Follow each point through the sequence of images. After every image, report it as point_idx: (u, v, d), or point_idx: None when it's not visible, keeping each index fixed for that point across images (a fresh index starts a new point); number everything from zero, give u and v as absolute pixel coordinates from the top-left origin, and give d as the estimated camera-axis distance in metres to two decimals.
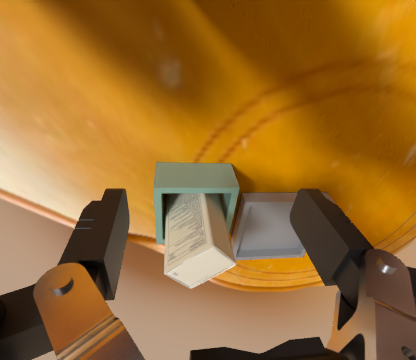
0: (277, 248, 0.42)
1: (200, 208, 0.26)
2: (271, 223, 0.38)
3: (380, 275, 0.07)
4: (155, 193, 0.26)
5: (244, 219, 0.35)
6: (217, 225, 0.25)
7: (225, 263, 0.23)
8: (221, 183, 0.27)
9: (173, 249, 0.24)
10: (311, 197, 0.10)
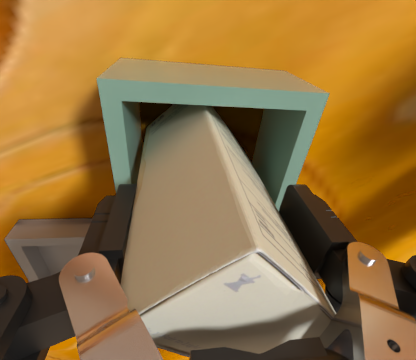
0: None
1: (274, 205, 0.12)
2: None
3: (359, 267, 0.07)
4: (310, 96, 0.10)
5: None
6: None
7: None
8: None
9: (257, 206, 0.07)
10: (298, 193, 0.10)
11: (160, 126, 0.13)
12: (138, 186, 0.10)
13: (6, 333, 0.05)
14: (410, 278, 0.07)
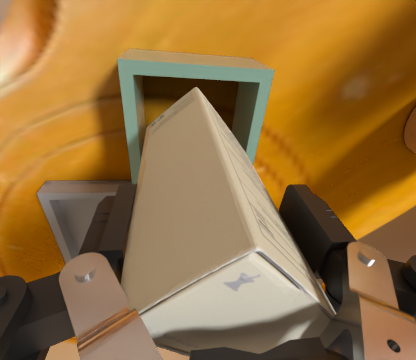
0: (75, 245, 0.28)
1: (274, 205, 0.12)
2: None
3: (359, 267, 0.07)
4: (261, 72, 0.15)
5: None
6: None
7: None
8: None
9: (257, 206, 0.07)
10: (298, 193, 0.10)
11: (160, 126, 0.13)
12: (138, 186, 0.10)
13: (5, 332, 0.05)
14: (410, 278, 0.07)
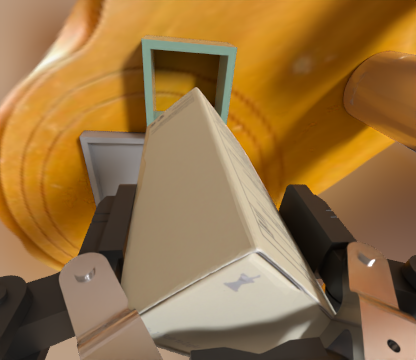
0: (101, 185, 0.37)
1: (274, 205, 0.12)
2: None
3: (359, 267, 0.07)
4: (229, 48, 0.24)
5: None
6: None
7: None
8: None
9: (257, 206, 0.07)
10: (298, 193, 0.10)
11: (160, 126, 0.13)
12: (138, 186, 0.10)
13: (6, 333, 0.05)
14: (410, 278, 0.07)
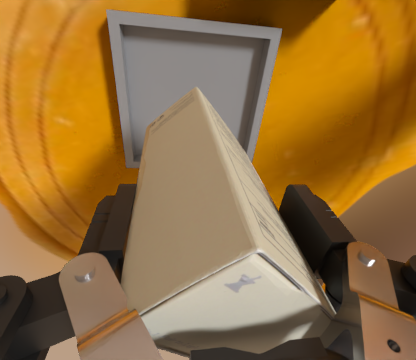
0: (133, 120, 0.23)
1: (274, 205, 0.12)
2: None
3: (359, 267, 0.07)
4: None
5: (240, 32, 0.19)
6: None
7: None
8: None
9: (257, 206, 0.07)
10: (298, 193, 0.10)
11: (160, 126, 0.13)
12: (138, 186, 0.10)
13: (6, 333, 0.05)
14: (410, 278, 0.07)
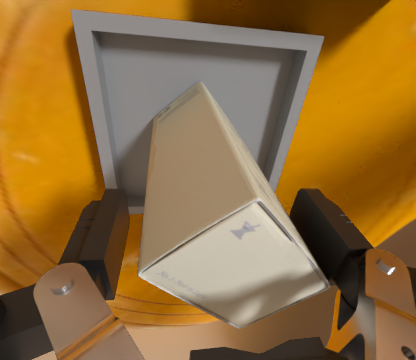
0: (119, 155, 0.18)
1: None
2: None
3: (380, 275, 0.07)
4: None
5: (265, 41, 0.13)
6: None
7: (251, 314, 0.09)
8: None
9: (257, 177, 0.08)
10: (311, 197, 0.10)
11: (167, 116, 0.14)
12: (150, 166, 0.11)
13: None
14: None
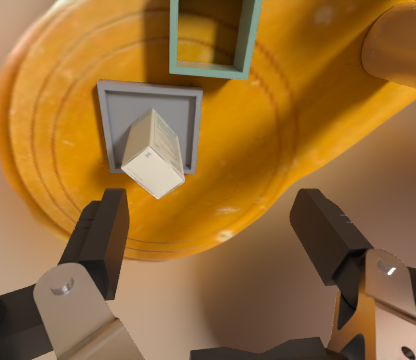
0: (114, 142, 0.36)
1: (178, 153, 0.31)
2: None
3: (380, 275, 0.07)
4: None
5: (177, 93, 0.32)
6: None
7: (160, 191, 0.28)
8: None
9: (158, 144, 0.26)
10: (311, 197, 0.10)
11: (136, 124, 0.33)
12: (127, 143, 0.29)
13: None
14: None
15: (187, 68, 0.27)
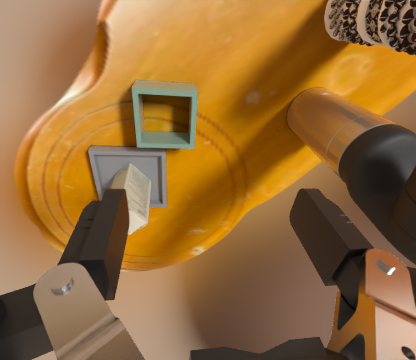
0: (103, 186, 0.48)
1: (147, 199, 0.43)
2: None
3: (380, 275, 0.07)
4: (192, 92, 0.35)
5: (146, 154, 0.43)
6: None
7: (131, 230, 0.39)
8: (194, 136, 0.40)
9: (128, 198, 0.38)
10: (311, 197, 0.10)
11: (117, 175, 0.44)
12: None
13: None
14: None
15: (149, 143, 0.39)
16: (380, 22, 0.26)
